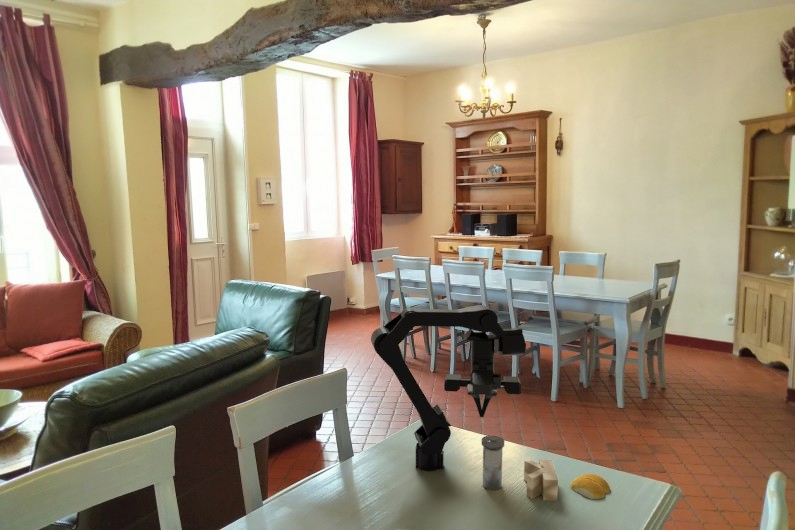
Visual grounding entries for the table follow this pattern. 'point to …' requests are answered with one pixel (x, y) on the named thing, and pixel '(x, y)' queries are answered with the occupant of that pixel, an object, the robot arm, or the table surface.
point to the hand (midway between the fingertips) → (481, 416)
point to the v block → (541, 479)
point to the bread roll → (590, 486)
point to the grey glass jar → (492, 462)
